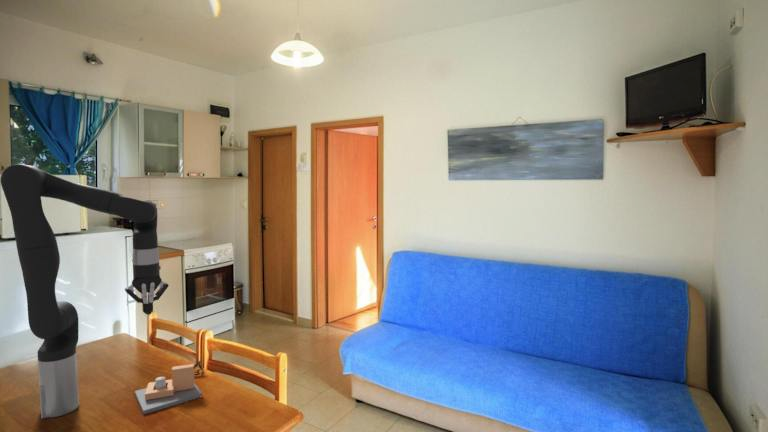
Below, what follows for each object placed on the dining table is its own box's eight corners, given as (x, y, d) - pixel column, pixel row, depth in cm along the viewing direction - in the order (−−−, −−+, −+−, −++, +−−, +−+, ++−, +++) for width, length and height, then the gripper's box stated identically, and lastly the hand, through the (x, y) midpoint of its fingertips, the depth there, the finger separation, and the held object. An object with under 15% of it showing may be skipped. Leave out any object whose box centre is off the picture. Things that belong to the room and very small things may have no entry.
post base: (143, 414, 128) (142, 395, 127) (134, 394, 140) (134, 377, 139) (202, 396, 139) (201, 379, 138) (189, 379, 150) (189, 363, 150)
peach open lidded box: (145, 400, 133) (144, 377, 133) (148, 388, 141) (147, 366, 140) (193, 392, 139) (193, 370, 138) (194, 381, 146) (194, 360, 145)
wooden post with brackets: (206, 368, 157) (201, 359, 155) (188, 384, 152) (183, 375, 150) (203, 367, 158) (198, 358, 156) (185, 383, 153) (180, 374, 151)
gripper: (124, 266, 130) (126, 320, 132) (171, 261, 139) (172, 312, 140) (120, 262, 136) (123, 314, 138) (165, 257, 144) (167, 307, 146)
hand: (148, 313), depth 139 cm, fingers closed
